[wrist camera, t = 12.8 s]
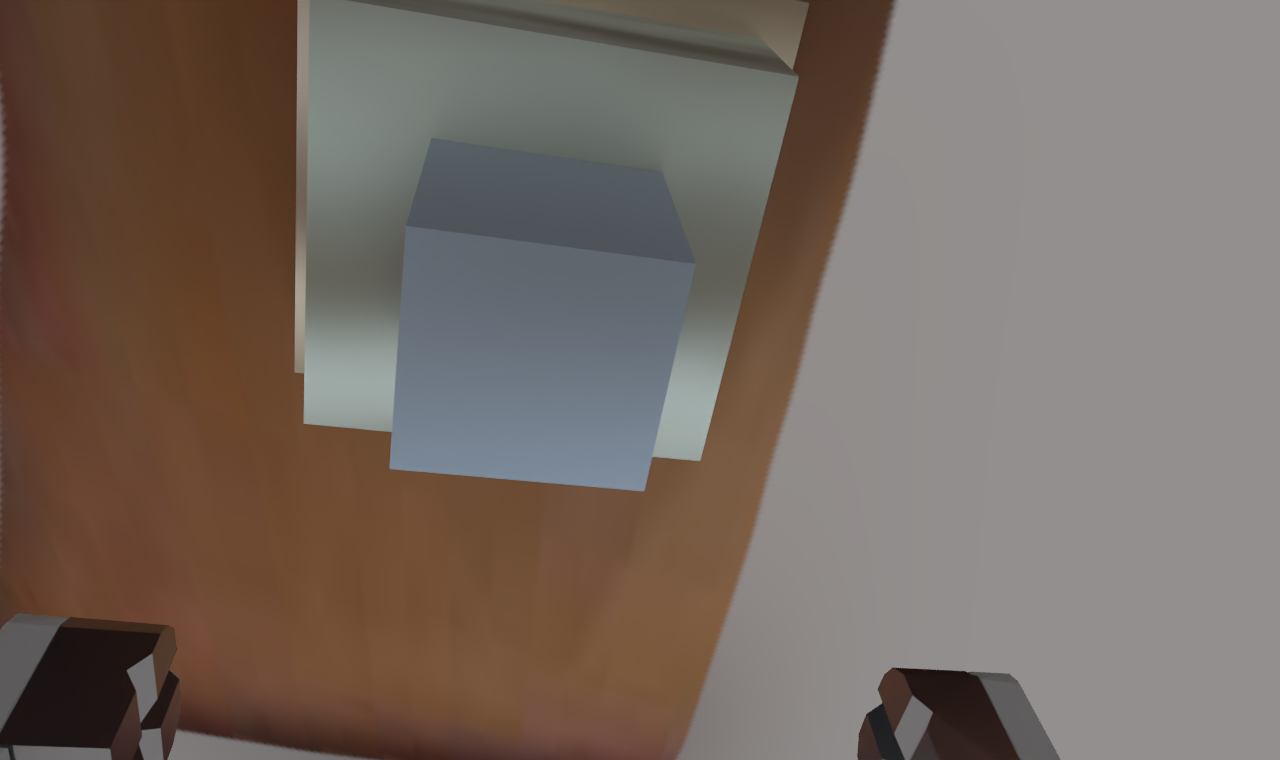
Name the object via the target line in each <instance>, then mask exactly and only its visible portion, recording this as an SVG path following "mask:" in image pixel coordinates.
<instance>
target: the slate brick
mask: <svg viewBox="0 0 1280 760" xmlns="http://www.w3.org/2000/svg"><path fill="white" fill-rule="evenodd" d="M695 266H696V263H695V260H694V257H693V255H692V252H691V249H690V246H689V244H688V241H687V238H686V236H685V233H684V230H683V227H682V225H681V222H680V219H679V216H678V214H677V211H676V208H675V205H674V203H673V200H672V197H671V194H670V192H669V189H668V186H667V184H666V181H665V178H664V175H663V173H662V172H658V171H651V170H644V169H637V168H631V167H624V166H617V165H610V164H604V163H597V162H590V161H583V160H576V159H570V158H563V157H556V156H549V155H542V154H536V153H529V152H522V151H515V150H509V149H502V148H495V147H488V146H481V145H475V144H468V143H461V142H454V141H447V140H441V139H434V138H431V141H430V145H429V148H428V152H427V155H426V158H425V162H424V165H423V169H422V172H421V176H420V179H419V182H418V186H417V189H416V193H415V196H414V199H413V203H412V206H411V210H410V213H409V217H408V220H407V223H406V230H405V245H404V260H403V275H402V289H401V304H400V319H399V334H398V349H397V364H396V379H395V394H394V409H393V424H392V439H391V454H390V469H397V470H408V471H420V472H431V473H442V474H454V475H465V476H476V477H488V478H499V479H511V480H522V481H533V482H545V483H556V484H567V485H579V486H590V487H602V488H613V489H624V490H636V491H644V490H645V486H646V481H647V477H648V473H649V468H650V464H651V459H652V455H653V451H654V446H655V442H656V437H657V433H658V429H659V424H660V420H661V415H662V411H663V406H664V402H665V398H666V393H667V389H668V384H669V380H670V376H671V371H672V367H673V362H674V358H675V354H676V349H677V345H678V340H679V336H680V332H681V327H682V323H683V318H684V314H685V310H686V305H687V301H688V296H689V292H690V288H691V283H692V279H693V274H694V270H695Z"/></svg>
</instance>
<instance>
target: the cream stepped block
mask: <svg viewBox="0 0 1280 760" xmlns="http://www.w3.org/2000/svg"><path fill="white" fill-rule="evenodd" d="M808 7H809V3H808V2H807V1H806V0H298V24H297V147H296V270H295V373H304V424H314V425H324V426H335V427H345V428H356V429H366V430H377V431H388V432H392V424H393V409H394V394H395V379H396V364H397V349H398V334H399V319H400V304H401V289H402V275H403V260H404V245H405V230H406V223H407V220H408V217H409V213H410V210H411V206H412V203H413V199H414V196H415V193H416V189H417V186H418V182H419V179H420V176H421V172H422V169H423V165H424V162H425V158H426V155H427V152H428V148H429V145H430V141H431V138H434V139H441V140H447V141H454V142H461V143H468V144H475V145H481V146H488V147H495V148H502V149H509V150H515V151H522V152H529V153H536V154H542V155H549V156H556V157H563V158H570V159H576V160H583V161H590V162H597V163H604V164H610V165H617V166H624V167H631V168H637V169H644V170H651V171H658V172H662V173H663V175H664V178H665V181H666V184H667V186H668V189H669V192H670V194H671V197H672V200H673V203H674V205H675V208H676V211H677V214H678V216H679V219H680V222H681V225H682V227H683V230H684V233H685V236H686V238H687V241H688V244H689V246H690V249H691V252H692V255H693V257H694V260H695V263H696V266H695V270H694V274H693V279H692V283H691V288H690V292H689V296H688V301H687V305H686V310H685V314H684V318H683V323H682V327H681V332H680V336H679V340H678V345H677V349H676V354H675V358H674V362H673V367H672V371H671V376H670V380H669V384H668V389H667V393H666V398H665V402H664V406H663V411H662V415H661V420H660V424H659V429H658V433H657V437H656V442H655V446H654V451H653V455H652V457H663V458H673V459H684V460H694V461H700V460H701V456H702V452H703V448H704V444H705V440H706V437H707V433H708V429H709V425H710V421H711V417H712V413H713V409H714V405H715V402H716V398H717V394H718V390H719V386H720V382H721V378H722V374H723V370H724V367H725V363H726V359H727V355H728V351H729V347H730V343H731V339H732V336H733V332H734V328H735V324H736V320H737V316H738V312H739V308H740V304H741V301H742V297H743V293H744V289H745V285H746V281H747V277H748V273H749V269H750V266H751V262H752V258H753V254H754V250H755V246H756V242H757V238H758V234H759V231H760V227H761V223H762V219H763V215H764V211H765V207H766V203H767V200H768V196H769V192H770V188H771V184H772V180H773V176H774V172H775V168H776V165H777V161H778V157H779V153H780V149H781V145H782V141H783V137H784V133H785V130H786V126H787V122H788V118H789V114H790V110H791V106H792V102H793V98H794V95H795V91H796V87H797V83H798V79H799V76H798V75H797V74H796V73H795V72H794V71H793V66H794V62H795V58H796V54H797V50H798V46H799V42H800V39H801V35H802V31H803V27H804V23H805V19H806V15H807V11H808Z"/></svg>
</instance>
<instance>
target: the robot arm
mask: <svg viewBox="0 0 1280 760" xmlns="http://www.w3.org/2000/svg"><path fill="white" fill-rule="evenodd" d="M176 651H177V646H176V638H175V630H174V628H173V627H171V626H169V625H159V624H147V623H135V622H123V621H111V620H99V619H87V618H75V617H70V618H67V617H54V616H42V615H29V614H17V615H16V616H14V617H13V618H12V619H11V620H10V621H8V622H7V623H6V624H5V625H4V626H3V627H2V629H1V630H0V760H167V759H168V756H169V753H170V751H171V748H172V745H173V741H174V737H175V733H176V728H177V723H178V719H179V712H180V697H181V693H180V679H179V678H178V677H177V676H176V675H175V674H174V673H173V672H172V671H170V670H169V669H170V666H171V664H172V661H173V659H174V656H175V654H176ZM878 691H879V694H880V696H881V699H882V702H883V703H882V704H880V705H879V706H878V707H876V708H875V709H873V710H872V711H870V712H869V713H867V714H866V717H865V719H864V722H863V724H862V727H861V730H860V733H859V742H858V760H1060V758H1059V756H1058V754H1057V753H1056V750H1055V748H1054V747H1053V745H1052V743H1051V741H1050V739H1049V737H1048V736H1047V734H1046V732H1045V730H1044V728H1043V726H1042V724H1041V723H1040V721H1039V719H1038V717H1037V715H1036V713H1035V712H1034V710H1033V708H1032V706H1031V704H1030V702H1029V701H1028V699H1027V697H1026V695H1025V693H1024V691H1023V689H1022V688H1021V686H1020V684H1019V683H1018V681H1017V680H1016V679H1015V678H1013V677H1012V676H1011V675H1010V674H1004V673H985V672H966V671H952V670H931V669H930V670H929V669H909V668H892V669H891V670H889V671H888V672H887V673H886V674H885V675H884V677H883V679H882V681H881V683H880V685H879V687H878Z"/></svg>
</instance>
